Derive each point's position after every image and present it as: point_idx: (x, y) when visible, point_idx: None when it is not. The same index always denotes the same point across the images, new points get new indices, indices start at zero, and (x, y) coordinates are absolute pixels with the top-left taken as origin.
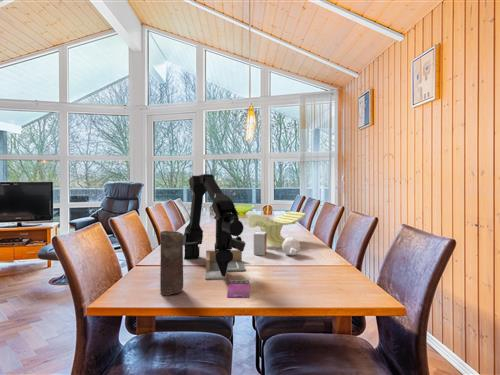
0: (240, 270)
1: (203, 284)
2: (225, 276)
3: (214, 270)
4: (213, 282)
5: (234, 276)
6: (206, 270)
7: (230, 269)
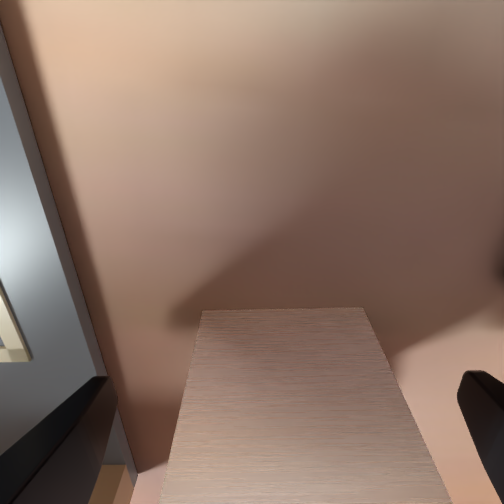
0: (3, 68)
1: (481, 483)
2: (368, 335)
3: None
4: (461, 423)
5: (302, 200)
6: (131, 495)
7: (5, 254)
